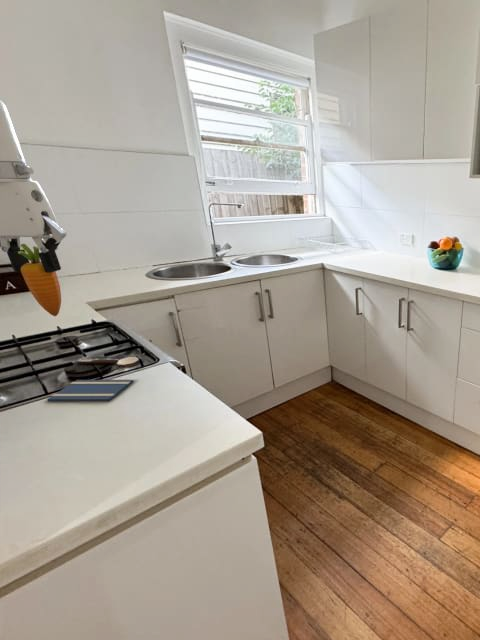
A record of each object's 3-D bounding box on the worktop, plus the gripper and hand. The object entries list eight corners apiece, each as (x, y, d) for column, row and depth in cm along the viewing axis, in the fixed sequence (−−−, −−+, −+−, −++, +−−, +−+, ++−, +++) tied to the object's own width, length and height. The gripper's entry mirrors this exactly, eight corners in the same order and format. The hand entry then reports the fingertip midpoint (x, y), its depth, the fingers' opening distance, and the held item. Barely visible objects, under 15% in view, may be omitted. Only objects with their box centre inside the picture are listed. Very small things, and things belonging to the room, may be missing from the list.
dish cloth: (47, 401, 77) (46, 398, 77) (77, 381, 84) (76, 379, 84) (109, 401, 78) (108, 398, 78) (133, 381, 85) (133, 379, 85)
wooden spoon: (72, 367, 90) (70, 363, 90) (85, 359, 94) (84, 355, 94) (132, 367, 91) (131, 363, 91) (143, 359, 95) (142, 355, 95)
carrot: (72, 316, 81) (46, 244, 75) (41, 321, 77) (11, 247, 71) (69, 310, 84) (43, 241, 78) (38, 315, 80) (9, 243, 74)
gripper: (66, 173, 73) (96, 267, 81) (-28, 171, 72) (11, 266, 80) (33, 173, 66) (68, 276, 74) (-72, 171, 65) (-25, 275, 73)
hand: (38, 270), depth 77 cm, fingers closed on carrot, 5 cm apart
